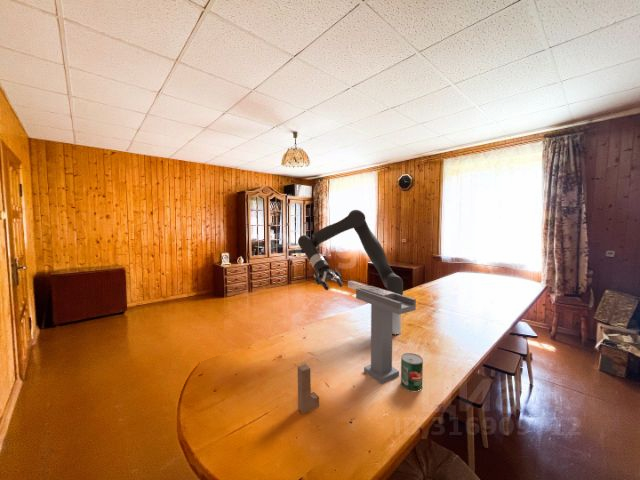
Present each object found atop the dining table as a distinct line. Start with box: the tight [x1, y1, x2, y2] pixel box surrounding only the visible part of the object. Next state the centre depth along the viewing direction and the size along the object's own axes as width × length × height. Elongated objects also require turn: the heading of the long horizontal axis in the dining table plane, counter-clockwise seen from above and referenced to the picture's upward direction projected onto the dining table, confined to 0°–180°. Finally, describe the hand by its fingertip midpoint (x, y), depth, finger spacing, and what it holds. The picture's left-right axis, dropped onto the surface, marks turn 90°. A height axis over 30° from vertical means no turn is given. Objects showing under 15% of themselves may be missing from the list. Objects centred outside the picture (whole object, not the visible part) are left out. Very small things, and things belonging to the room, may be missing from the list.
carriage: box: [347, 280, 395, 300], centre depth 114 cm, size 25×6×3 cm, turn 31°
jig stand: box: [355, 286, 417, 385], centre depth 107 cm, size 24×10×34 cm, turn 31°
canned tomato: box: [400, 352, 424, 392], centre depth 101 cm, size 8×8×11 cm
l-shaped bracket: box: [297, 363, 320, 415], centre depth 89 cm, size 7×3×15 cm, turn 123°
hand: (334, 287), depth 128 cm, fingers open, 8 cm apart
